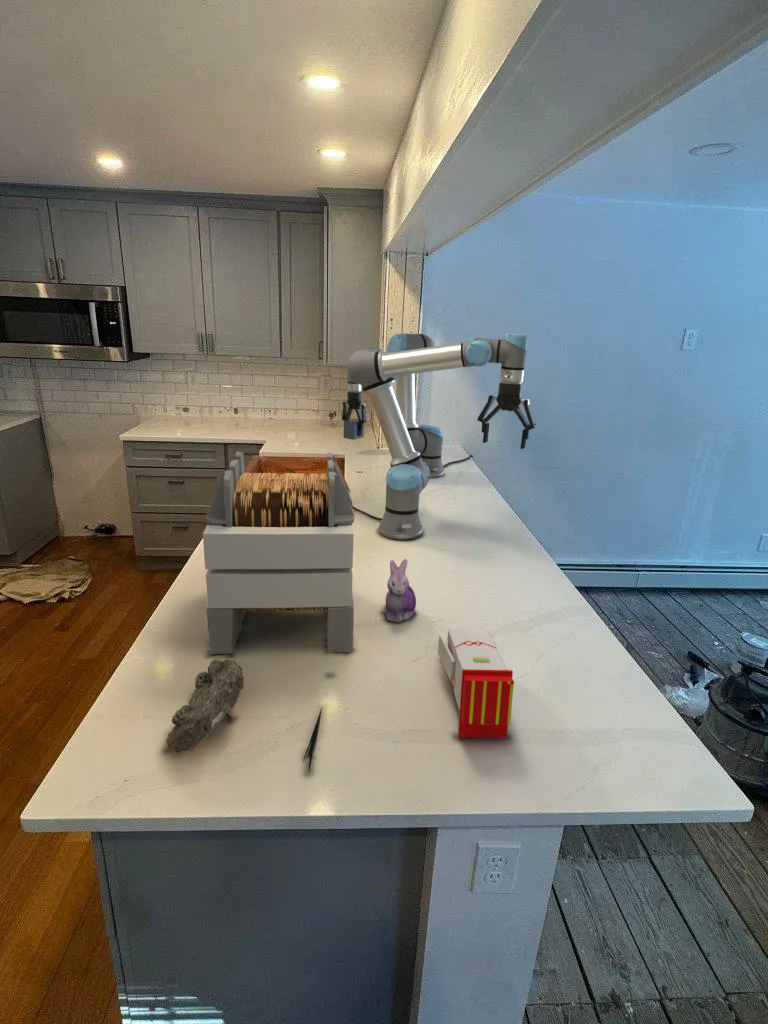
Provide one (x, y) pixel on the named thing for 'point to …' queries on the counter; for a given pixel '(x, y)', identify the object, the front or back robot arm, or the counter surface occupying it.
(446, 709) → the counter surface
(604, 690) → the counter surface
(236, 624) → the record crate stand
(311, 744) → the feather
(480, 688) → the toy
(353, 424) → the block
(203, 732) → the fossil
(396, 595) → the figurine
